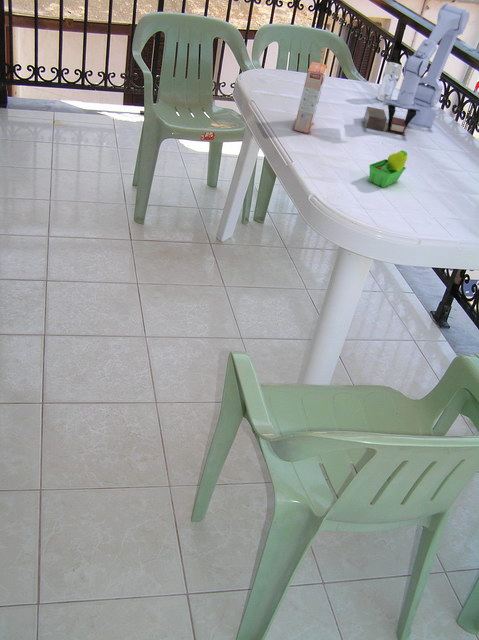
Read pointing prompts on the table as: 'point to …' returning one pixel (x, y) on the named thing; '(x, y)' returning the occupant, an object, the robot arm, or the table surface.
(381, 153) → the table surface
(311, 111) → the cracker box
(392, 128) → the red hardcover book
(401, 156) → the fruit basket
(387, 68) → the beer glass
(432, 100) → the robot arm
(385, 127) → the book rack
